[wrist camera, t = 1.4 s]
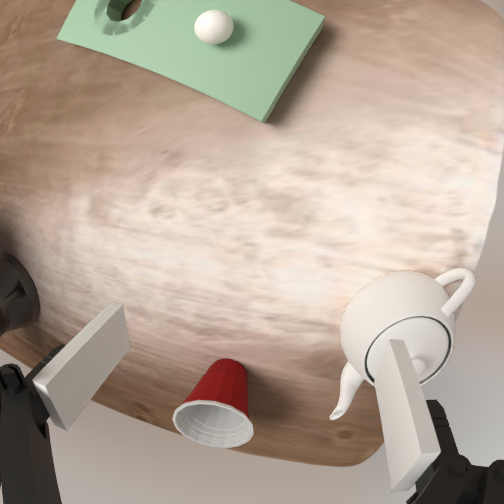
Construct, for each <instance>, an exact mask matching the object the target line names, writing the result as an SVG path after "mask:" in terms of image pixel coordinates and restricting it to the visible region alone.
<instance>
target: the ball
mask: <svg viewBox="0 0 504 504" xmlns="http://www.w3.org/2000/svg"><path fill="white" fill-rule="evenodd" d="M233 29H234V23H233V20H232V18H231V17H230V16H229V15H228V14H227V13H225V12H224V11H221V10H209V11H206V12H204V13H202V14H201V15H200V16H199V17H198V18H197V20H196V22H195V25H194V31H195V34H196V36H197V37H198V38H199V39H200V40H201V41H202V42H204V43H207V44H219V43H222V42H224V41H226V40H227V39H228V38H229V37H230V36H231V34H232V32H233Z"/></svg>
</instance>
